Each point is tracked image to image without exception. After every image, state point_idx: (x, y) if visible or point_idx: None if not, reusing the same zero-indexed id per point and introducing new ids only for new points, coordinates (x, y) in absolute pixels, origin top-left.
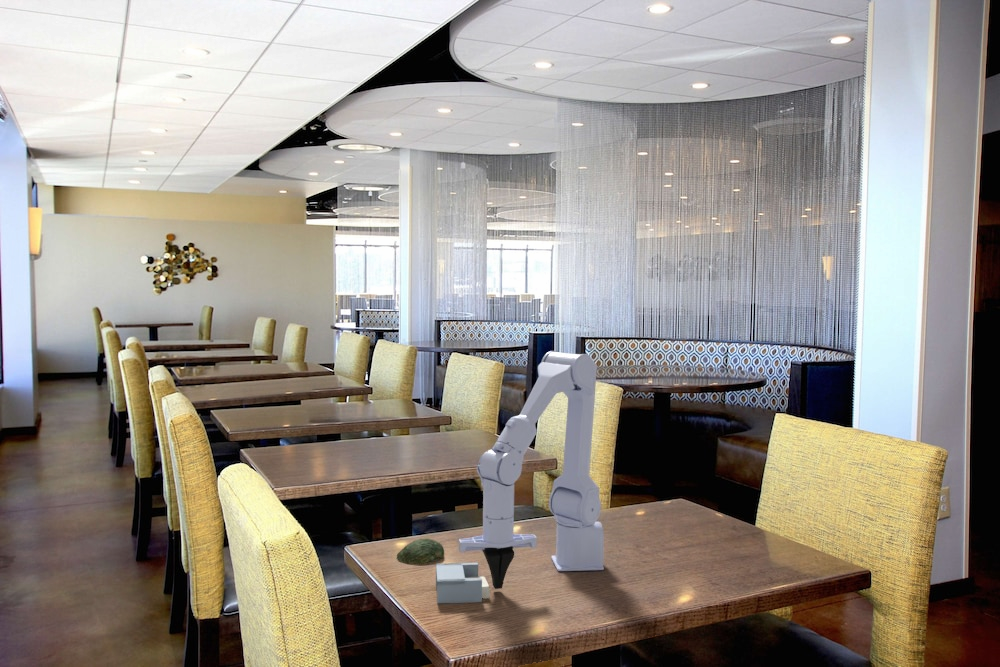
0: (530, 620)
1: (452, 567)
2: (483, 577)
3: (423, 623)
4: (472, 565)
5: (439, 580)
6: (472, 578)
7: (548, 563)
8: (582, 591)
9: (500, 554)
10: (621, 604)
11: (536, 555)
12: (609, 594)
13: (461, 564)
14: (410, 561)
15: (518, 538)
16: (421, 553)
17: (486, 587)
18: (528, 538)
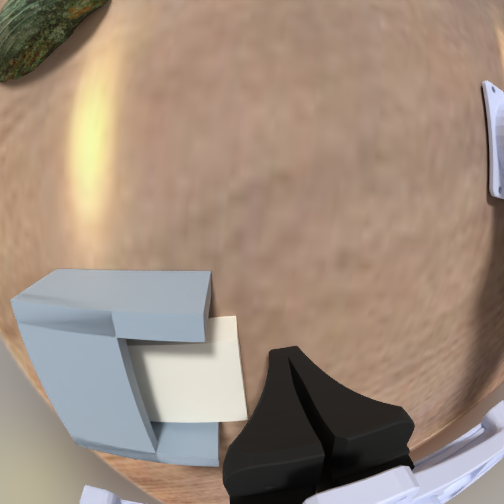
0: None
1: (79, 360)
2: (232, 352)
3: (102, 456)
4: (171, 338)
5: (79, 441)
6: (181, 358)
7: (475, 113)
8: (477, 329)
9: (321, 491)
10: (485, 374)
11: (447, 39)
12: (498, 337)
13: (110, 330)
14: (3, 73)
15: (449, 490)
16: (16, 44)
17: (237, 418)
18: (475, 480)
